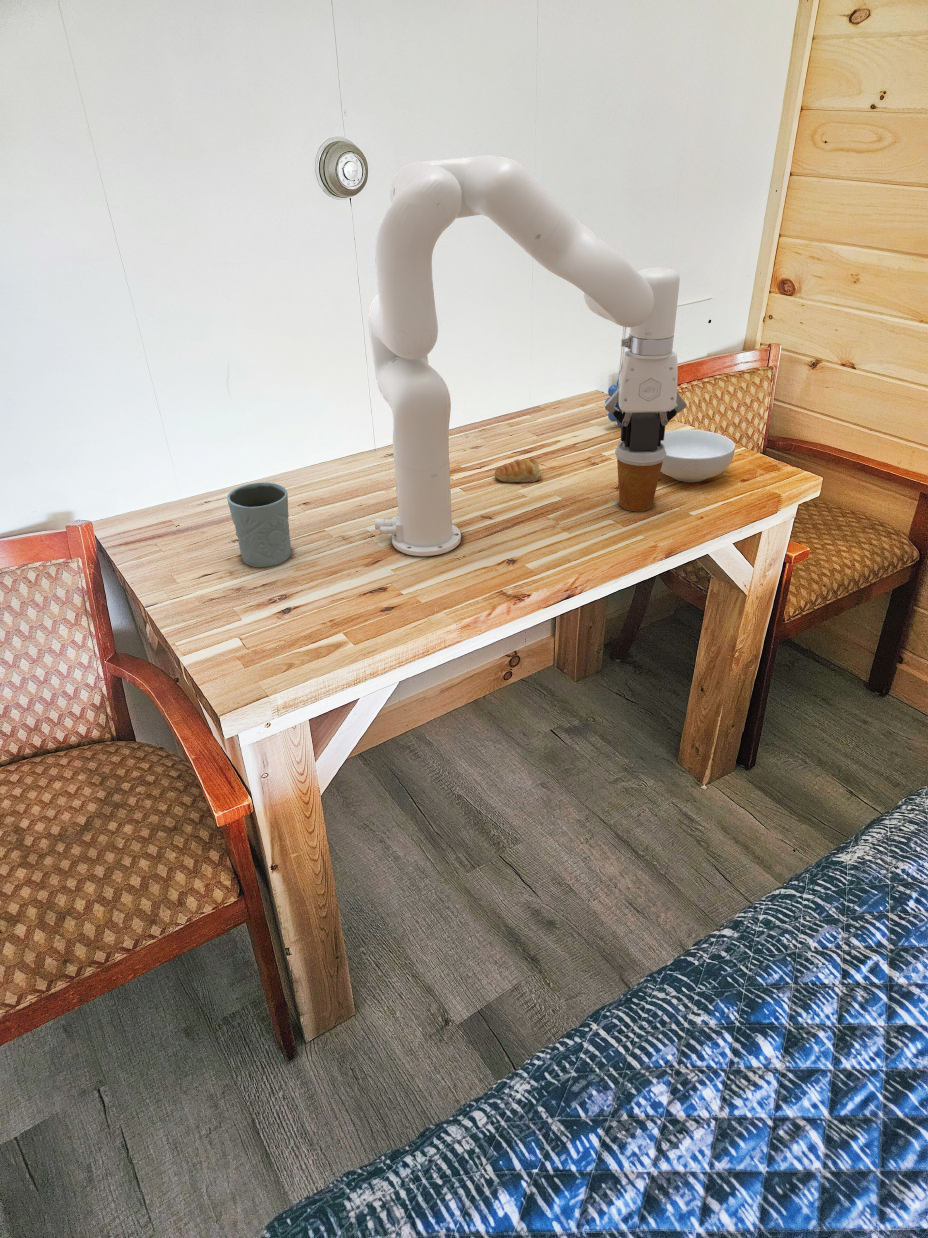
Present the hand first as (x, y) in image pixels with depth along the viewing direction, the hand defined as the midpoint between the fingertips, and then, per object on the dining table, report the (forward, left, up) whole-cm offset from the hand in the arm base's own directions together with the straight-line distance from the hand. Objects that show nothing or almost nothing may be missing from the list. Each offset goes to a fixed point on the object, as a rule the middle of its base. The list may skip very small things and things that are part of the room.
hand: (641, 443), depth 153 cm
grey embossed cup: (-68, -19, -13) cm, 72 cm away
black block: (0, 0, 0) cm, 0 cm away
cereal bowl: (+13, +14, -13) cm, 23 cm away
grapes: (+4, +43, -13) cm, 45 cm away
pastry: (-22, +14, -13) cm, 29 cm away
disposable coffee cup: (0, 0, -13) cm, 13 cm away
